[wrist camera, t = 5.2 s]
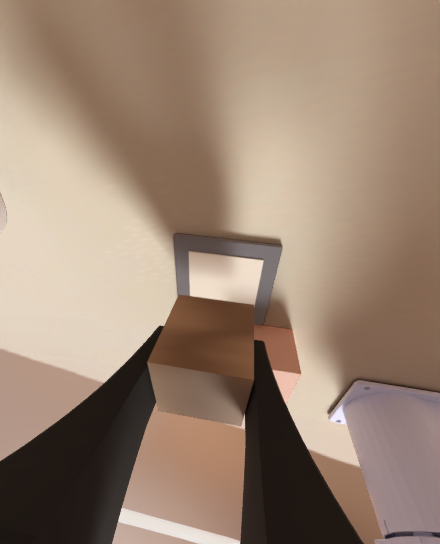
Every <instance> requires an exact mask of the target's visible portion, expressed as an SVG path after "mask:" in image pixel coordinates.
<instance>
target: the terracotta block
mask: <svg viewBox="0 0 440 544" xmlns="http://www.w3.org/2000/svg"><path fill="white" fill-rule="evenodd" d="M254 340H261V341H264V342H265V346H266V350H267V354H268V358H269V361H270V364H271V367H272V370H273V373H274V376H275V379H276V381H277V384H278V386H279V389H280V392H281V394H282V397H283V399H284V401H285V403H288V401H289V399H290V397H291V394H292V392H293V390H294V388H295V386H296V384H297V382H298V380H299V378H300V376H301V371H300V366H299V361H298V356H297V351H296V346H295V341H294V336H293V331H292V329H285V328H278V327H271V326H264V325H257V324H254Z"/></svg>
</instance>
